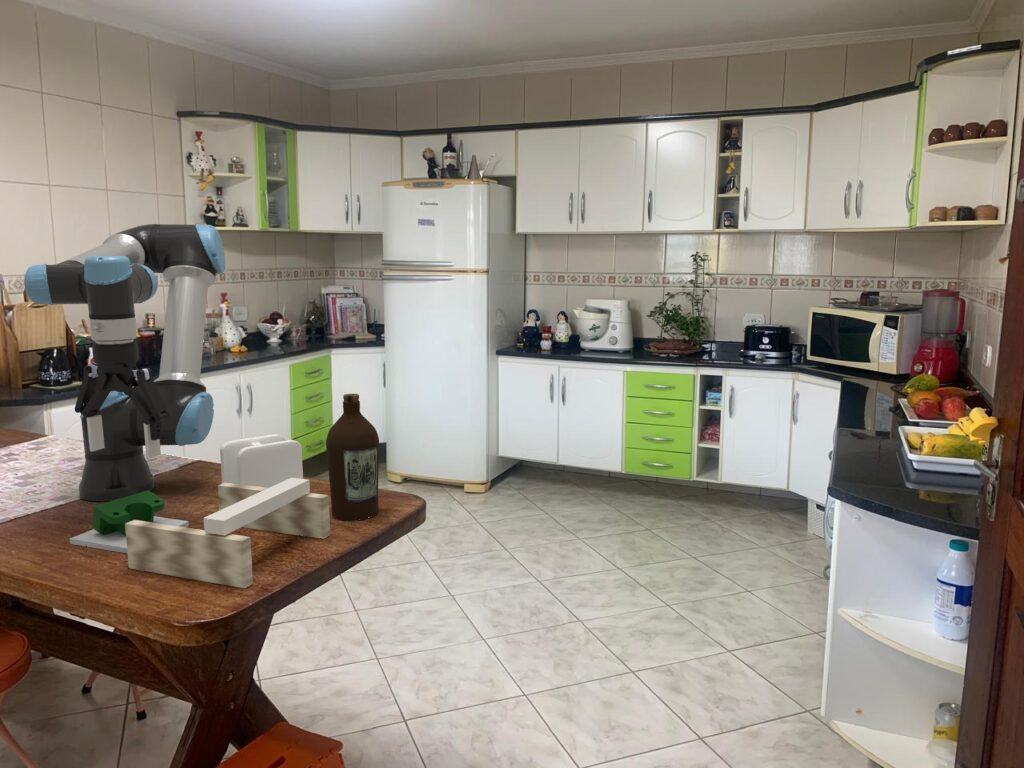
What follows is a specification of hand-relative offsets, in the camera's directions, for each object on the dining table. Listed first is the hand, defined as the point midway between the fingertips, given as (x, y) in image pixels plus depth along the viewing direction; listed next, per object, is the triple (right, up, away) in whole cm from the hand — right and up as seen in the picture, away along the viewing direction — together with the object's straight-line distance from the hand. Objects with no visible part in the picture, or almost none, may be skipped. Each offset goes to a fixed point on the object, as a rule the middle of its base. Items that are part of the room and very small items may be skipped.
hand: (125, 453), depth 147 cm
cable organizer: (+16, -11, +30) cm, 36 cm away
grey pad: (0, -16, +2) cm, 16 cm away
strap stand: (+23, -17, -6) cm, 29 cm away
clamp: (0, -15, +2) cm, 15 cm away
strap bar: (+29, -9, -9) cm, 31 cm away
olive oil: (+40, -14, +14) cm, 45 cm away
